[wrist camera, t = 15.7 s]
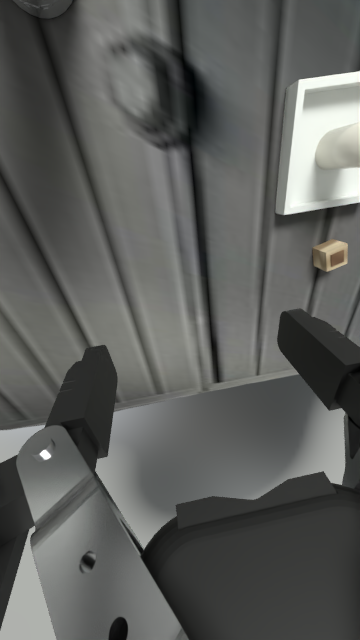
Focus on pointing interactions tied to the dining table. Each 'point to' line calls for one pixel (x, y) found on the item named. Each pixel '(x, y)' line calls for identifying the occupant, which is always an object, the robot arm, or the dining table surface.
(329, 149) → the canister
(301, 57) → the dining table surface
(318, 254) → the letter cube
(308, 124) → the tray
